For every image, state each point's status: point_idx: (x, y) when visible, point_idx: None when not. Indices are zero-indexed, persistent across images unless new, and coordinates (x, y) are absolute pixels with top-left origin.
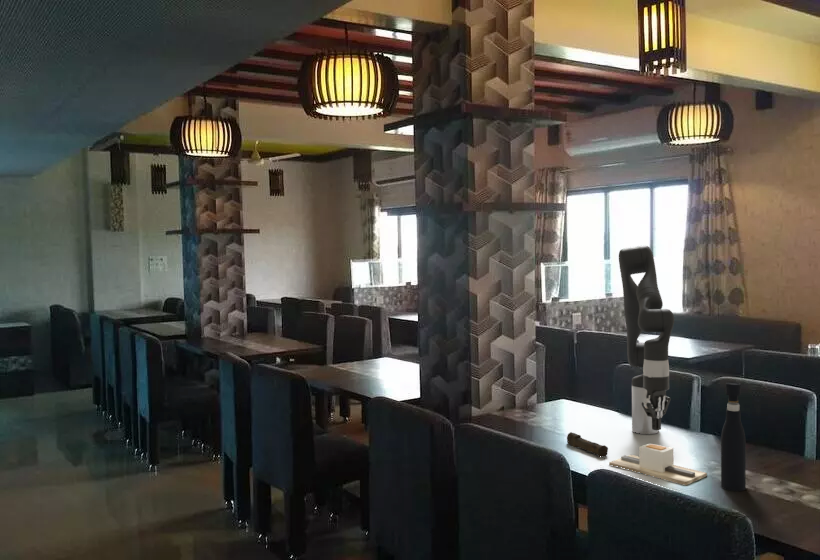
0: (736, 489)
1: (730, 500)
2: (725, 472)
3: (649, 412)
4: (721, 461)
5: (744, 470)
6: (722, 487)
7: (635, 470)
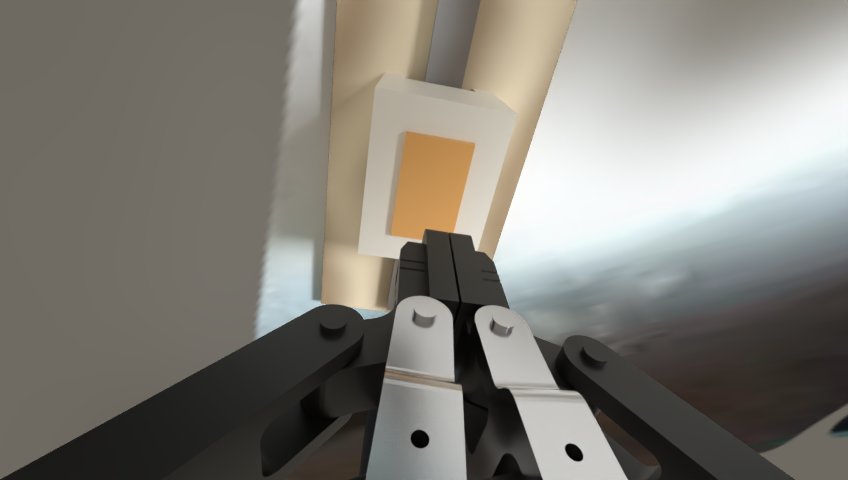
0: None
1: None
2: (366, 429)
3: (324, 370)
4: None
5: None
6: None
7: (334, 70)
